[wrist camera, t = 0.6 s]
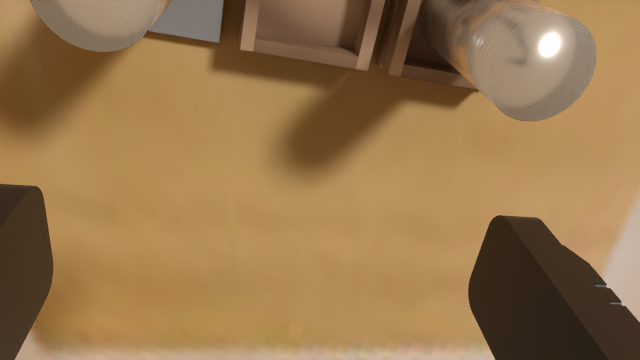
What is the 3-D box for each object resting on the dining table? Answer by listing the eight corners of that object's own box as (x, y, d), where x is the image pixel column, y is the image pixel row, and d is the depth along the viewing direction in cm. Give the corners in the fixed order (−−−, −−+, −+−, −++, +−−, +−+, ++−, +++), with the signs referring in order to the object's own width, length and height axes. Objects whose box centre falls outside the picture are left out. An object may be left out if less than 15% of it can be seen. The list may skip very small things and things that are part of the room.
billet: (412, -9, 33) (480, 38, 23) (488, -37, 33) (592, -3, 22) (429, 63, 35) (497, 135, 25) (499, 38, 35) (599, 100, 25)
